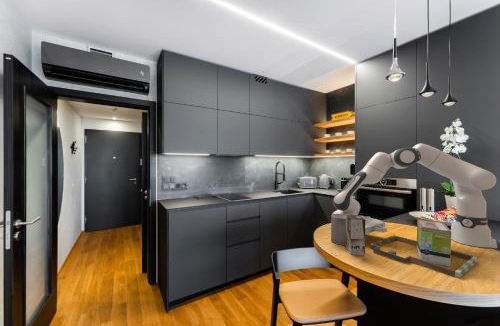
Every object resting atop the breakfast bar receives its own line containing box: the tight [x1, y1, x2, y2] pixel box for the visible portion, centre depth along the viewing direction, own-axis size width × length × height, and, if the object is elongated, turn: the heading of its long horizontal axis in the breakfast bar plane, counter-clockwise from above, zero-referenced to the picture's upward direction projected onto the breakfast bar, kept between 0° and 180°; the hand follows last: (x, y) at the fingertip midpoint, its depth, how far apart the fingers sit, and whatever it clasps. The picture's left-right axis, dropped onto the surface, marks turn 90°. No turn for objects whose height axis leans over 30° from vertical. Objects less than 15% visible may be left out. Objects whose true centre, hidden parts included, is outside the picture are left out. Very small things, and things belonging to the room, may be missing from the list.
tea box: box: [416, 219, 452, 268], centre depth 96 cm, size 15×10×15 cm
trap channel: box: [369, 234, 479, 279], centre depth 98 cm, size 28×32×2 cm
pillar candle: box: [330, 213, 346, 246], centre depth 115 cm, size 10×10×15 cm
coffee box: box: [345, 214, 366, 256], centre depth 103 cm, size 9×6×16 cm
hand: (385, 230), depth 111 cm, fingers closed
